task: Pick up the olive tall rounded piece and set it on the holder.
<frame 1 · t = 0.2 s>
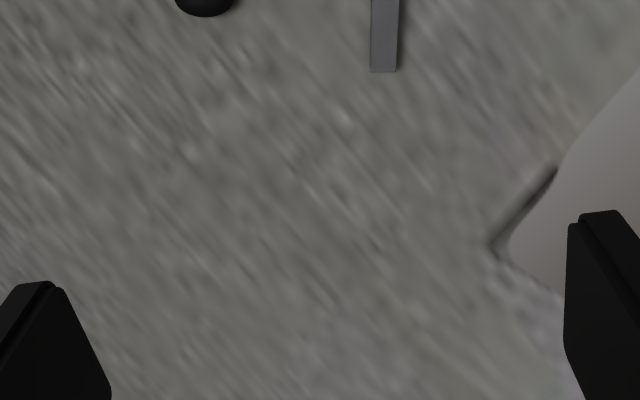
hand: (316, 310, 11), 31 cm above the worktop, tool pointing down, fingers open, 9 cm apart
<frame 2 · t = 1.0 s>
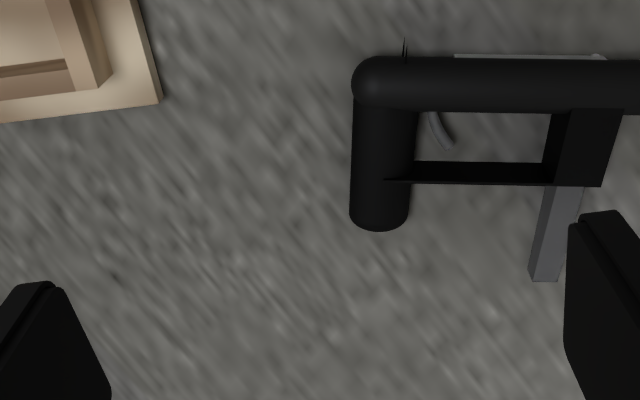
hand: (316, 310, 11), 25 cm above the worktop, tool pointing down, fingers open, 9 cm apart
door handle: (507, 159, 38), on the worktop
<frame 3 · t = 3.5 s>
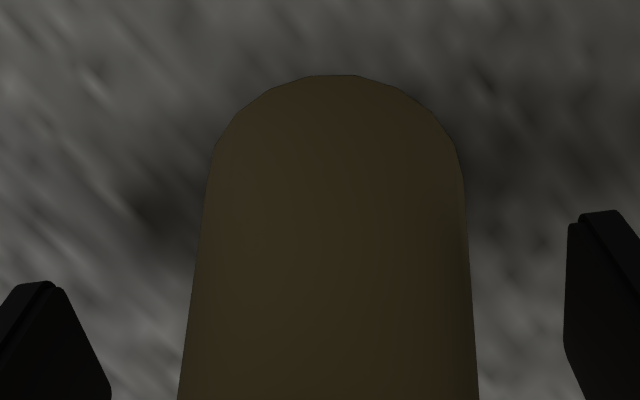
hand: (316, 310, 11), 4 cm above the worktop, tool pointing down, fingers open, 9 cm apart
olive tall rounded piece: (334, 192, 14), on the worktop
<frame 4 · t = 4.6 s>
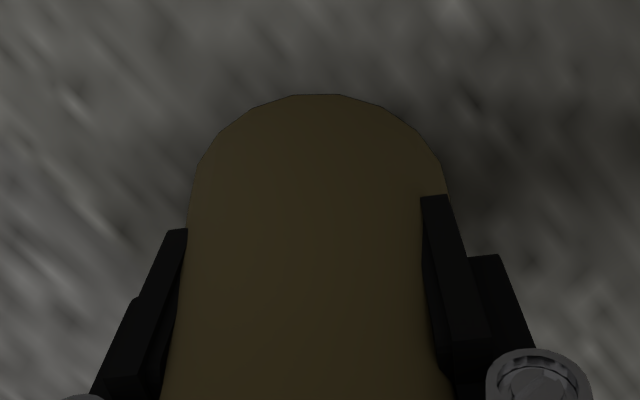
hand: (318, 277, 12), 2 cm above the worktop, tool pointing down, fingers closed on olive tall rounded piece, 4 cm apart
olive tall rounded piece: (319, 212, 14), on the worktop, touching gripper
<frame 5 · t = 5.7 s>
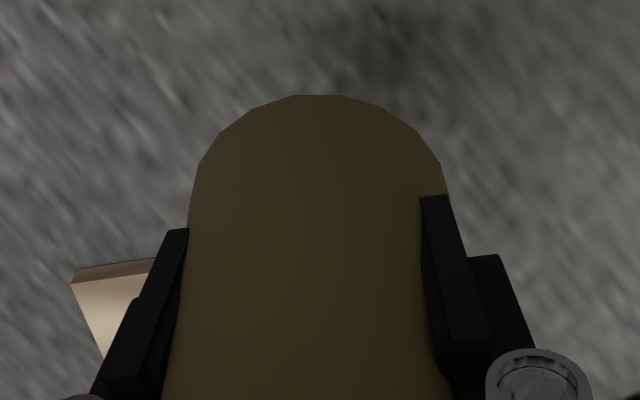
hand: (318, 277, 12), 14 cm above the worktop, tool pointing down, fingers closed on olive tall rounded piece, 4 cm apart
holder: (254, 358, 32), on the worktop
olive tall rounded piece: (319, 211, 14), point 11 cm above the worktop, touching gripper
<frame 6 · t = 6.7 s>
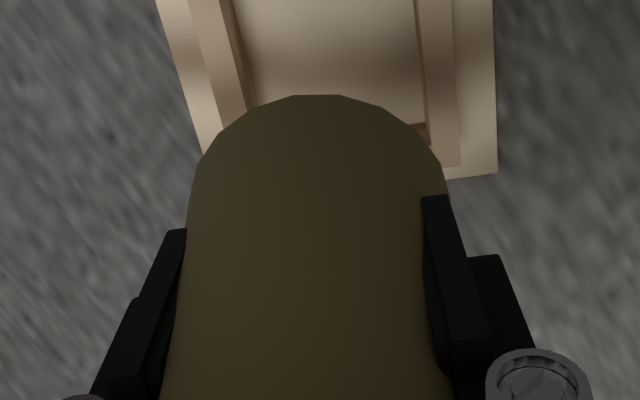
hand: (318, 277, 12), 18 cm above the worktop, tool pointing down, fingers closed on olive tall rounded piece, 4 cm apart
holder: (332, 49, 28), on the worktop
olive tall rounded piece: (319, 212, 14), point 15 cm above the worktop, touching gripper
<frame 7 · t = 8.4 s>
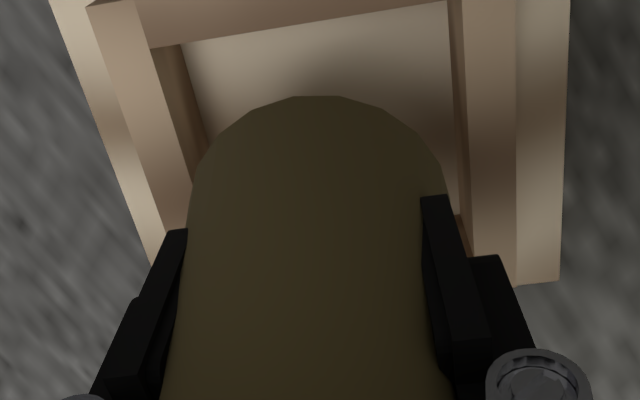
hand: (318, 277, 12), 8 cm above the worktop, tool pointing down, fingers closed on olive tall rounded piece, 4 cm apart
holder: (328, 110, 19), on the worktop
olive tall rounded piece: (319, 213, 14), point 6 cm above the worktop, touching gripper
when the fingers open (5 cm above the worktop, at t = 9.8 s): olive tall rounded piece drops 1 cm, resting on holder.
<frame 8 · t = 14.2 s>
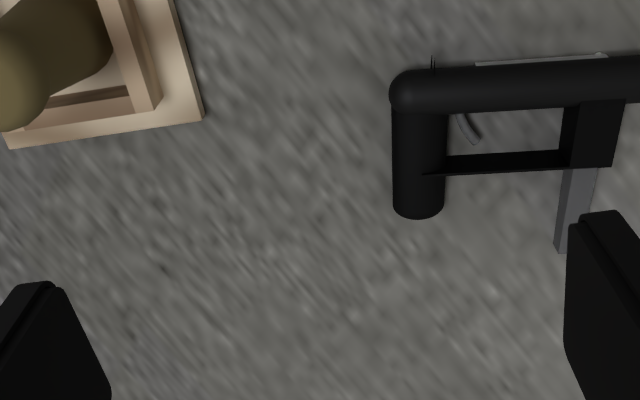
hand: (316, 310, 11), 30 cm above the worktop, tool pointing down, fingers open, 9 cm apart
door handle: (528, 148, 43), on the worktop
holder: (73, 29, 39), on the worktop
olive tall rounded piece: (67, 31, 38), point 1 cm above the worktop, touching holder
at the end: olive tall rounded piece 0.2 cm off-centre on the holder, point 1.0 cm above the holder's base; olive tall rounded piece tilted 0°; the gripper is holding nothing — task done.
